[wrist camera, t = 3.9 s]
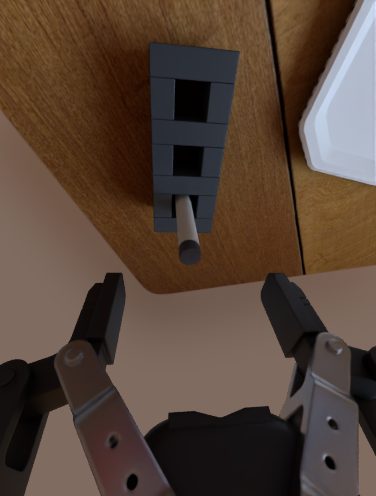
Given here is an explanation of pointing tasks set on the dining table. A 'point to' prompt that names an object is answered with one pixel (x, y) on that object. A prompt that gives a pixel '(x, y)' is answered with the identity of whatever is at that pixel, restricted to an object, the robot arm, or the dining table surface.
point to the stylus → (186, 231)
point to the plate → (345, 103)
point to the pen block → (189, 129)
